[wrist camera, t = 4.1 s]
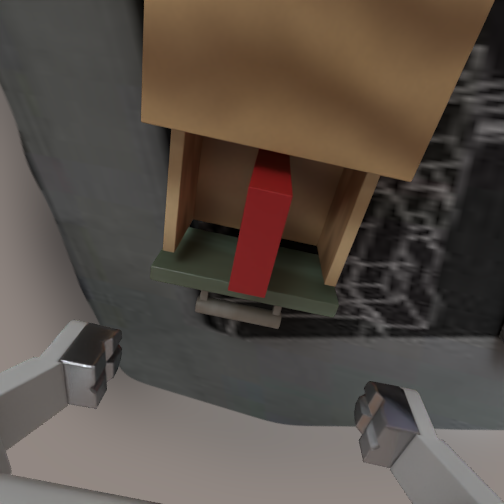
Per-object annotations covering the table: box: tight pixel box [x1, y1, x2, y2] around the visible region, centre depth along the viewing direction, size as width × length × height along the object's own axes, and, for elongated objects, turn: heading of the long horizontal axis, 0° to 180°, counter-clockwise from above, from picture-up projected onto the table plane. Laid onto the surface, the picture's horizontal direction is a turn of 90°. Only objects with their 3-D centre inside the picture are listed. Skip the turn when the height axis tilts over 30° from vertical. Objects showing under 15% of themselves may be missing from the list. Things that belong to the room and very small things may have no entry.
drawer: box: [150, 129, 380, 329], centre depth 24 cm, size 19×13×7 cm
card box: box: [228, 148, 293, 298], centre depth 21 cm, size 6×2×9 cm, turn 169°
